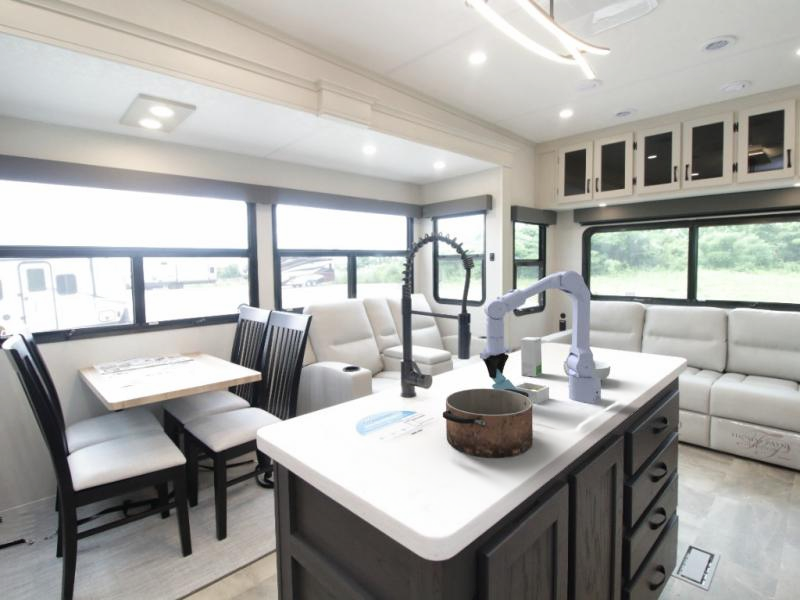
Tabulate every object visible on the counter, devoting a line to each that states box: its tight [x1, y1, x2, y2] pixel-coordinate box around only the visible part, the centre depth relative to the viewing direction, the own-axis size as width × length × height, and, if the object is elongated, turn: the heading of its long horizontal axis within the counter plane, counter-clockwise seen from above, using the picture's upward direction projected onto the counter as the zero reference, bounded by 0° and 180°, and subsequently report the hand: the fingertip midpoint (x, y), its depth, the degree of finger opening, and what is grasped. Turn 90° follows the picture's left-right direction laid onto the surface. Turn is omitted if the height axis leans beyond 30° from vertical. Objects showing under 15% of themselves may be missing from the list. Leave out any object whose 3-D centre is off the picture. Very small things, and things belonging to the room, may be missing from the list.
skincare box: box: [520, 336, 543, 378], centre depth 173 cm, size 8×7×16 cm
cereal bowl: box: [563, 360, 611, 381], centre depth 161 cm, size 17×17×7 cm
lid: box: [491, 369, 517, 390], centre depth 135 cm, size 14×9×2 cm
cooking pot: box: [442, 388, 534, 459], centre depth 109 cm, size 30×22×11 cm
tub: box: [514, 381, 550, 405], centre depth 140 cm, size 9×8×4 cm
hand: (495, 376), depth 138 cm, fingers closed on lid, 3 cm apart
